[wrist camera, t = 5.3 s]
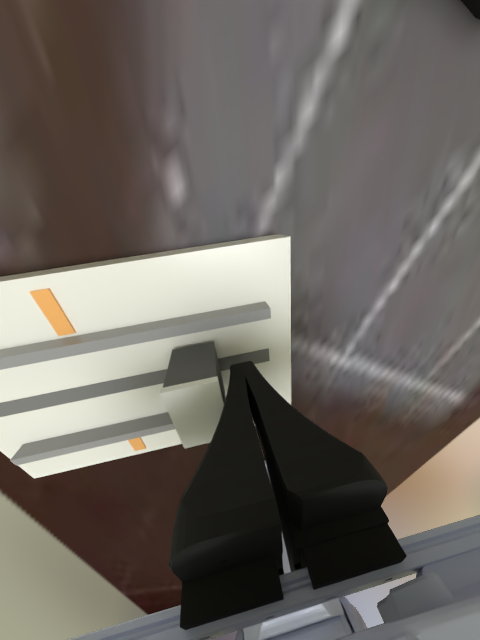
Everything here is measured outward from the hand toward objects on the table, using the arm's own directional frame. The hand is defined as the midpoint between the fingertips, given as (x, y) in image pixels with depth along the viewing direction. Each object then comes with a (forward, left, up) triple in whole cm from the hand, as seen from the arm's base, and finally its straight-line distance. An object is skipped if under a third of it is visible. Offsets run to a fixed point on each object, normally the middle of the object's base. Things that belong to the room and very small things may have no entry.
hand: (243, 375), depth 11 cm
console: (+7, 0, -3) cm, 7 cm away
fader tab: (+2, 0, -1) cm, 3 cm away
